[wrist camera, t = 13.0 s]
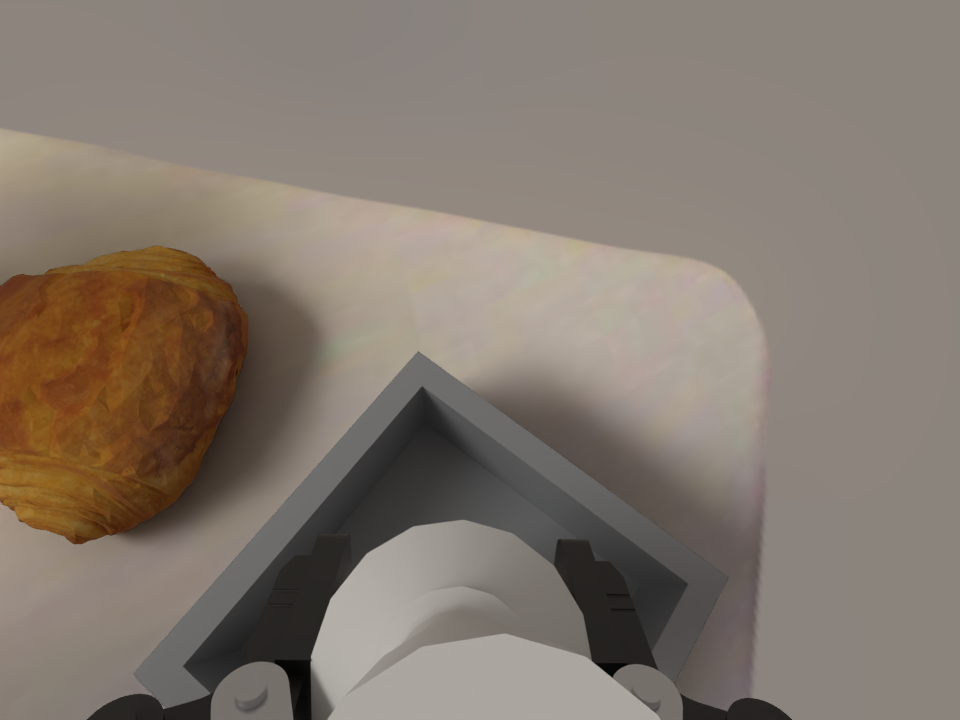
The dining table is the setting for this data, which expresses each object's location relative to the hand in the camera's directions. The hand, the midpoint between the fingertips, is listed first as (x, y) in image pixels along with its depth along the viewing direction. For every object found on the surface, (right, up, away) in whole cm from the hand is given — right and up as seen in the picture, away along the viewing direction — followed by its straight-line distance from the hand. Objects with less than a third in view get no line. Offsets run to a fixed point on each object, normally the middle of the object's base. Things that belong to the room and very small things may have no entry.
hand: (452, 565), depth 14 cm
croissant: (-19, +3, +17) cm, 26 cm away
